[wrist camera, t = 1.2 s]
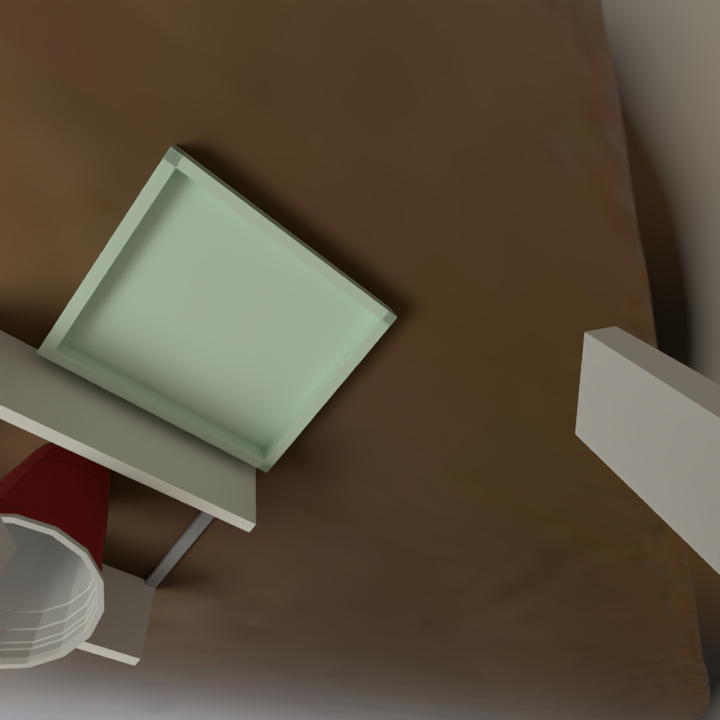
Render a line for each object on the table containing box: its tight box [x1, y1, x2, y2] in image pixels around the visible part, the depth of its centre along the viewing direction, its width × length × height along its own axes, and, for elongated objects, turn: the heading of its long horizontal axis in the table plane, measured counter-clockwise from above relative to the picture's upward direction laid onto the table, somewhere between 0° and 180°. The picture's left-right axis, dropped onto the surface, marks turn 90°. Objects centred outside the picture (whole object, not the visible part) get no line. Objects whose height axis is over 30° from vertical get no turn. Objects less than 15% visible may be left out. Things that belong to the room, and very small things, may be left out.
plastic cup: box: [0, 443, 110, 669], centre depth 33 cm, size 11×11×12 cm
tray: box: [37, 145, 397, 473], centre depth 35 cm, size 18×16×2 cm
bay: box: [0, 330, 256, 666], centre depth 36 cm, size 23×16×7 cm
